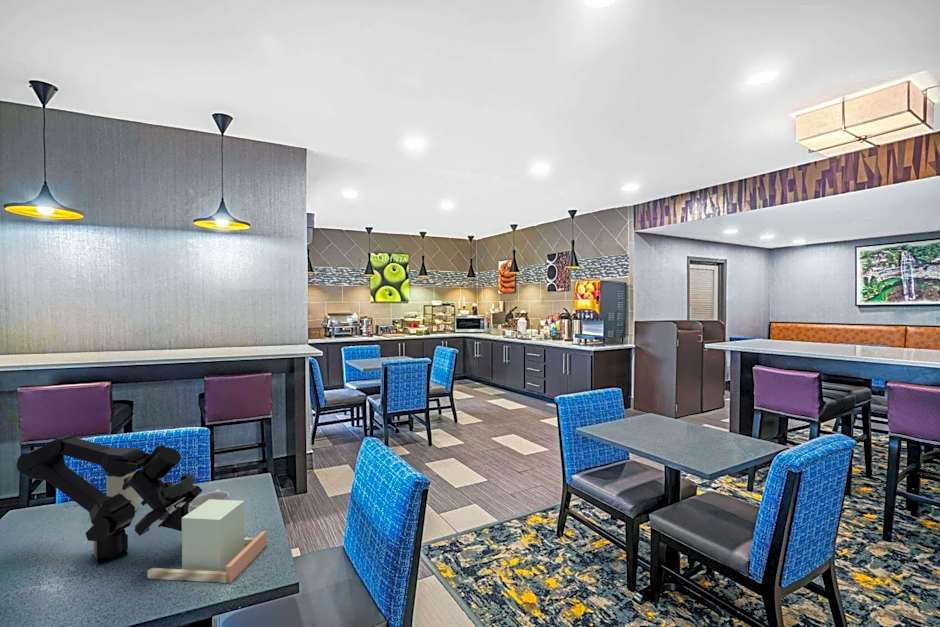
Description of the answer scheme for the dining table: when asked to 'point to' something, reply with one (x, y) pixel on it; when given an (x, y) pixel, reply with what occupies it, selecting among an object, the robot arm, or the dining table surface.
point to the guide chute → (232, 571)
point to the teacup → (204, 497)
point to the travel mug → (116, 485)
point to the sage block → (212, 535)
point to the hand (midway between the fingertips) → (192, 532)
